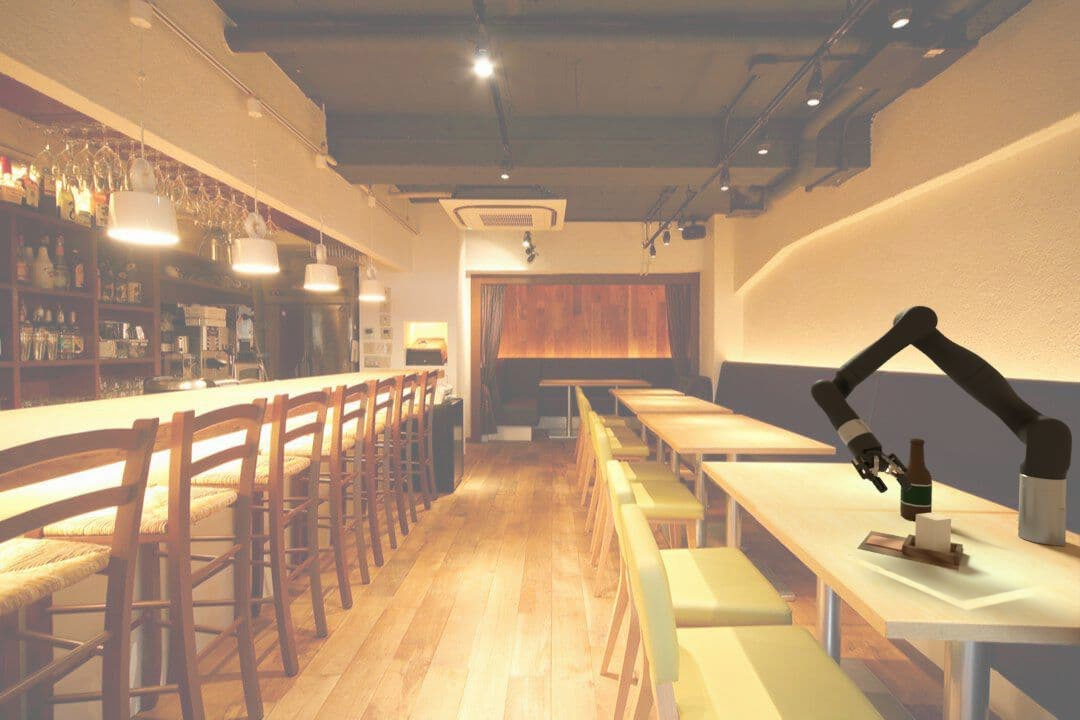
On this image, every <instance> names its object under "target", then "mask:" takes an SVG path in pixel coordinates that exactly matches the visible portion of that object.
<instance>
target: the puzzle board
mask: <svg viewBox="0 0 1080 720" xmlns="http://www.w3.org/2000/svg"><path fill="white" fill-rule="evenodd" d="M963 546H964V545H963V544H961V543H957V542H951V544H950V554H948V553H943V552H938V551H933V550H928V549H923V548H918V547H915V535H914V534H911V533H909V534H908V535H907V537H905V536H899V535H894V534H890V533H885V532H878V531H874V530H871V531H869V533H868V534H867V536H866V537H865V538H864V539H863V540H862V541H861V543H860V544H859V545H858V546H857V548H856V549H858V550H861V551H866V552H870V553H871V552H872V553H876V554H881V555H885V556H889V557H893V558H899V559H904V560H907V561H911V562H918V563H921V564H927V565H933V566H935V567H941V568H945V569H950V570H953V571H959V568H960V563H961V560H962V556H963V552H964V548H963Z"/></svg>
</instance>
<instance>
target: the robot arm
mask: <svg viewBox="0 0 1080 720" xmlns="http://www.w3.org/2000/svg"><path fill="white" fill-rule="evenodd" d="M938 319H939V318H938V315H937V313H936V312H935V310H933V309H932V308H931V307H929V306H926V305H925V306H924V305H914V306H911V307H907V308H906V309H904V310H902V311H900V312H899V313H897V314H896V315H895V316H894V318H893V322H892V325H893V326H891V328H889V330H888V331H886V332H885V333H884V334H883V335H881V337H879V338H878V339H876V340H875V341H874V342H872V343H870V344H869V345H868V346H865V348H863V349H861V350H860V351H859V352H857V353H856V354H855V355H853V356H852V357H851V358H850V359H849V360H847V361H846V362H844V363H843V364H842V365H841V366H840V367H839V368H838V369H837V370H836V372H835V377H834V378H833V379H832V380H829V379H821V378H820V379H819V380H815V381H814V382H813V383H812V384H811V385H812V386H811V388H810V394H811V397H812V399H814V401H815V403H816V405H817V406H818V407H819V408H820V409H821V410H822V411H823V412H824V413H825V414H826V416H827V418H828V420H829V422H830V424H831V425H832V426H833V428H834V429H835V430H836V432H837V433H838V436H839V437H840V440H841V441H842V442H843V443H844V445H845V446H846V448H847V449H848V450H849V452H850V453H851V454H852V456H853V457H854V458H853V459H852V460H851V461H850V462H851V464H852V466H853V467H854V469H855V470H856V472H857V473H858V475H859V476H860V478H861V480H868V481H869V482H871V483H872V484H873V485H874V487H875V489H876V490H877V491H878V492H879V493H880V494H884V493H886V492H887V491H888V489H889V488H888V486H887V485H886V484H885V482H884V481H883V479H882V478H881V476H879V473H885V474H886V475H889V476H892V477H893V478H895V480H896V482H897V483H898V484H899V485H900V488H901V487H902V488H903V489H904V490H905V491H908V490H909V489H911V488H912V485H911V483H910V482H909V481H908V479H907V478H906V477H905V475H904V474H905V473H906V472H907V471H908V470H907V469H906V466H905V465H904V463H903V462H902V461H901V460H900V458H898V456H897V455H896V454H895V453H893V452H892V453H890V454H888V455H887V454H885V452H883V444H881V442H880V441H879V439H878V438H877V436H875V434H874V433H873V432H872V430H871V429H870V428H869V426H868V425H867V424H866V423H865V422H864V421H863V420H862V419H861V418H860V416H859V415H858V414H857V413H856V411H855V410H854V408H852V406H851V405H849V403H848V402H847V400H846V399H847V398H848V397H849V396H850V394H851V393H852V392H853V391H854V390H855V388H857V386H858V385H860V384H861V383H863V382H864V381H865V380H867V378H870V376H871V375H872V374H874V373H875V372H876V371H877V370H879V368H881V367H883V365H884V364H886V363H887V362H888V361H889V360H891V359H892V358H893V357H894V356H896V355H898V353H900V352H901V351H903V350H905V348H907V347H909V346H913V347H914V348H916V349H917V350H918V351H920V352H921V353H923V354H924V356H926V357H927V358H928V359H930V361H931V362H932V363H933V364H935V365H936V366H937V367H938V368H939V369H940V370H941V371H942V372H943V373H944V374H945V375H946V376H948V377H949V379H951V380H952V381H953V382H954V383H955V384H956V385H957V386H959V387H960V388H961V389H962V390H963V391H964V392H966V394H968V395H969V396H970V397H971V398H972V399H974V400H976V402H978V403H980V404H981V405H982V406H983V407H985V408H986V409H987V410H989V411H990V412H992V413H993V414H994V415H995V416H996V417H998V418H999V420H1001V421H1002V423H1003V424H1004V425H1005V426H1006V427H1007V428H1008V429H1009V430H1010V431H1011V432H1012V433H1013V434H1014V435H1015V436H1016V437H1017V439H1018V440H1019V441H1020V442H1021V443H1023V444H1024V445H1025V447H1026V448H1025V457H1024V461H1023V462H1021V463H1020V465H1019V486H1018V487H1019V488H1018V490H1019V491H1018V493H1019V496H1018V527H1017V536H1018V537H1019V538H1021V539H1024V540H1026V541H1029V542H1033V543H1037V544H1041V545H1048V546H1049V544H1050V546H1061V545H1062V547H1066V532H1067V508H1066V504H1067V503H1066V502H1067V501H1066V500H1067V474H1068V471H1069V470H1070V467H1071V460H1072V449H1073V448H1072V447H1073V438H1072V436H1073V435H1072V430H1071V429H1070V427H1069V426H1068V425H1067V423H1065V422H1063V421H1062V420H1060V419H1057V418H1054V417H1049V416H1046V415H1044V414H1043V413H1041V412H1039V411H1038V410H1037V409H1035V408H1033V407H1032V406H1031V405H1030V404H1028V403H1027V402H1026V401H1025V400H1023V399H1022V398H1021V397H1020V396H1019V395H1018V394H1017V392H1015V390H1014V389H1013V387H1012V386H1011V384H1010V382H1008V381H1007V378H1005V376H1004V375H1003V374H1001V372H999V371H998V370H997V369H996V368H995V366H993V365H991V363H989V362H988V361H987V360H986V359H984V358H983V357H982V356H980V355H978V354H977V353H975V352H974V351H971V350H970V349H968V348H966V347H964V346H962V345H960V344H958V343H956V342H954V341H952V339H950V338H948V337H947V336H945V335H944V333H942V332H941V331H940V330H939V329H938V328H937V327H938V326H937V325H938V323H939V322H938V321H939V320H938Z"/></svg>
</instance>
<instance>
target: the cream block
mask: <svg viewBox="0 0 1080 720" xmlns="http://www.w3.org/2000/svg"><path fill="white" fill-rule="evenodd" d="M914 534H915V547H918V548H923V549H928V550H933V551H938V552H943V553H948V554H950V544H951V540H952V538H951V537H952V518H950V517H947V516H945V515H944V516H943V515H940V514H938V513H937V514H936V513H933V512H931V513H923V514H916V521H915V532H914Z"/></svg>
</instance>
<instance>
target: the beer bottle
mask: <svg viewBox="0 0 1080 720" xmlns="http://www.w3.org/2000/svg"><path fill="white" fill-rule="evenodd" d="M909 443H910V447H909V448H910V449H909V456H908V463H907V465H906V466H905V467H906V469H907V470H908V471H907V472H906V473H905V474H904V475H905V477H906V478H907V479H908V481H909V482H910V483H911V485H912V488H911V489H909V490H908V491H905V490H904V489H903V488H902V487H901V486H900V499H899V501H900V502H899V503H900V506H899V508H900V516H901V517H902V518H903V519H906V520H908V519H909V521H913V522H916V514H923V513H933V512H932V507H933V506H932V505H933V504H932V502H933V501H932V500H933V480H932V478H933V477H932V476H931V473H930V471H929V470H928V468H927V467H926V462H925V449H924V446H925V445H924V444H926V443H925V440H924V439H922V438H910V439H909Z"/></svg>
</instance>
